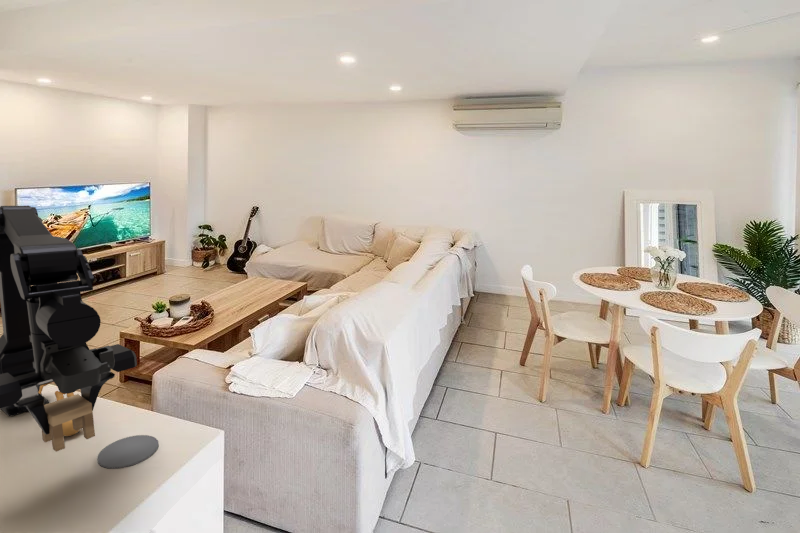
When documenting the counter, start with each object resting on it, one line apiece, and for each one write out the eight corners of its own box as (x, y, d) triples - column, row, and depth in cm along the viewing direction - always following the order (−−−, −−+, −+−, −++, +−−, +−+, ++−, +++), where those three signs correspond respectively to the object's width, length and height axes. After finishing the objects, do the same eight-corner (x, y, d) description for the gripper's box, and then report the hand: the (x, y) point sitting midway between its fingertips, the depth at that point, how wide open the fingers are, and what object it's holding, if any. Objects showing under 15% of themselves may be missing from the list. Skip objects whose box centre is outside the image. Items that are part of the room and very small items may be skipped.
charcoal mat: (88, 455, 73) (87, 453, 73) (142, 431, 80) (142, 429, 80) (112, 475, 68) (112, 473, 68) (168, 448, 76) (168, 446, 75)
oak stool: (42, 440, 65) (38, 406, 64) (81, 425, 69) (77, 394, 68) (55, 451, 62) (51, 417, 61) (95, 436, 66) (91, 403, 65)
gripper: (-13, 362, 50) (5, 480, 53) (150, 323, 65) (157, 416, 68) (-39, 341, 56) (-22, 448, 59) (116, 310, 71) (124, 396, 74)
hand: (67, 425), depth 65 cm, fingers closed on oak stool, 5 cm apart
